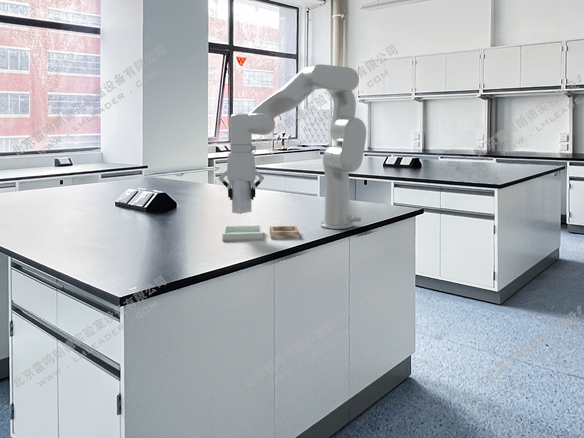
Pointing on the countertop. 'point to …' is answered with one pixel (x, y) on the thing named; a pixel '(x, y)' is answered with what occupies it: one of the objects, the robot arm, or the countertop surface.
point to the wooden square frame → (284, 232)
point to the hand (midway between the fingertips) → (241, 199)
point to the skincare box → (241, 197)
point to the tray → (242, 233)
